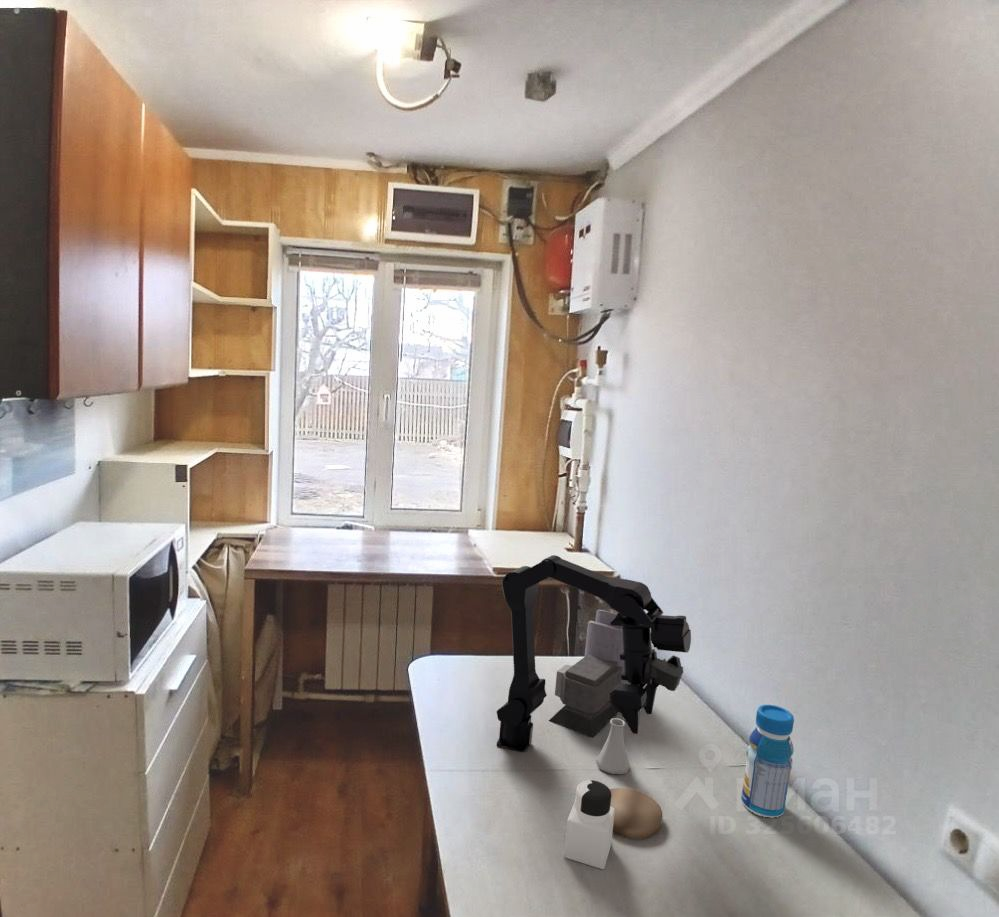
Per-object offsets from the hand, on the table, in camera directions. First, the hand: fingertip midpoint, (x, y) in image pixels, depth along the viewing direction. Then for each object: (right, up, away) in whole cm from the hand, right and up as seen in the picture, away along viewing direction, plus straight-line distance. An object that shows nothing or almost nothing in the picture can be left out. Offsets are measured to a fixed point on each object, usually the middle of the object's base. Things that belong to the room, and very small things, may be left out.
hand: (642, 723), depth 136 cm
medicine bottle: (-13, -16, -17) cm, 27 cm away
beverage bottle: (+24, -16, -1) cm, 29 cm away
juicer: (-4, -9, +35) cm, 36 cm away
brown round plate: (-4, -15, -7) cm, 17 cm away
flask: (-4, -13, +9) cm, 16 cm away
